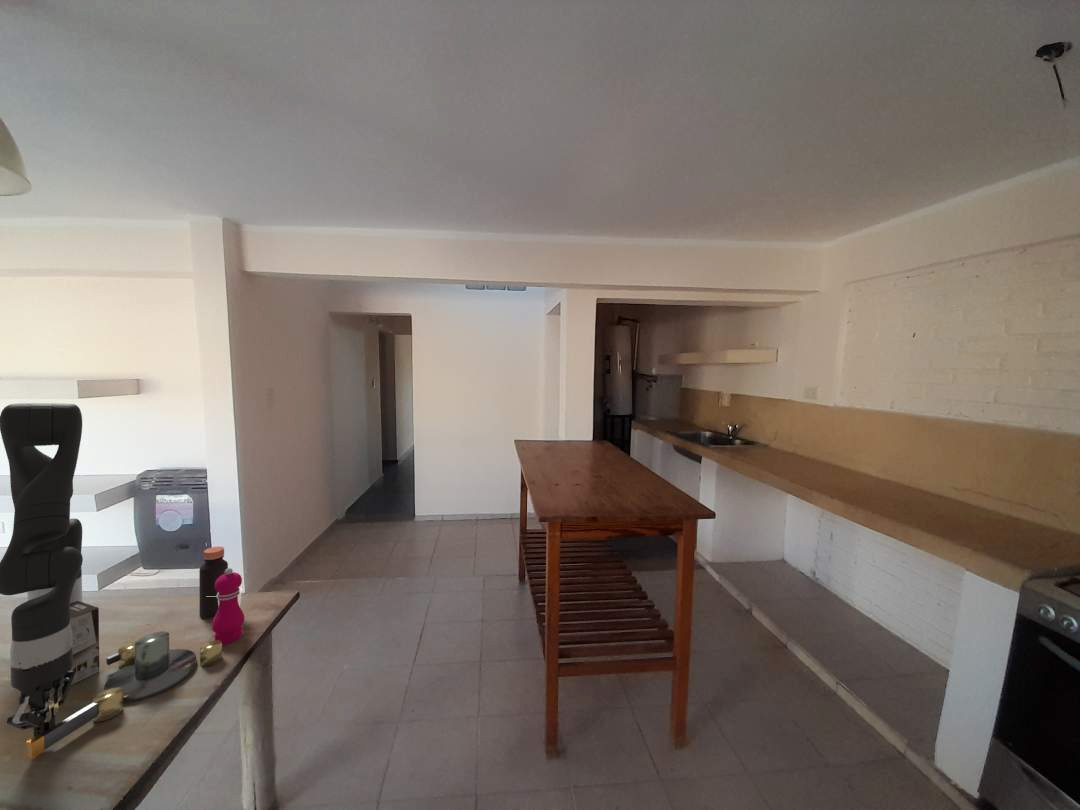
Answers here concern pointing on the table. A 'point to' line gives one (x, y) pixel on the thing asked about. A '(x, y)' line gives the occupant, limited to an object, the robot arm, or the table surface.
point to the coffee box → (84, 640)
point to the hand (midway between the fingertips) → (44, 737)
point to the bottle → (211, 580)
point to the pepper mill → (228, 608)
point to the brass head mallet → (78, 720)
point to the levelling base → (153, 684)
